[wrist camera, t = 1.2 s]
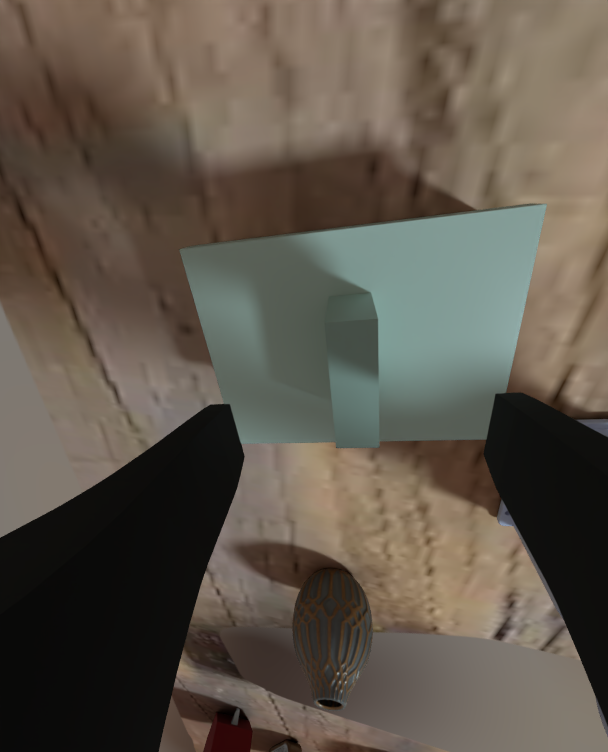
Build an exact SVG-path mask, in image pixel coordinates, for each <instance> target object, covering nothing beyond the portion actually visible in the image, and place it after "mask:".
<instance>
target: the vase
mask: <svg viewBox="0 0 608 752" xmlns="http://www.w3.org/2000/svg"><path fill="white" fill-rule="evenodd" d="M292 630H293V641H294V648H295V651H296V655H297V658H298V660H299V663H300V665H301V668H302V670H303V672H304V674H305V676H306V678H307V680H308V683H309V686H310V689H311V693H312V698H313V702H314V704H315V705H316V706H318V707H320V708H322V709H325V710H330V711H339V710H343V709H344V708H345V707H346V705H347V702H348V698H349V695H350V692H351V690H352V688H353V687H354V685H355V684H356V682H357V680H358V679H359V677H360V675H361V674H362V672H363V670H364V668H365V666H366V664H367V662H368V659H369V655H370V651H371V645H372V635H373V627H372V616H371V610H370V606H369V603H368V600H367V597H366V595H365V592H364V590H363V589H362V587H361V586H360V584H359V583H358V582H357V581H356V580H355V579H354V578H353V577H352V576H351V575H350V574H348V573H347V572H345V571H342V570H339V569H332V568H329V569H322V570H319V571H317V572H316V573H314V574H313V575H312V576H311V577H309V578H308V580H307V581H306V582H305V583H304V584H303V586H302V588H301V590H300V592H299V594H298V597H297V600H296V603H295V608H294V614H293V623H292Z"/></svg>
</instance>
